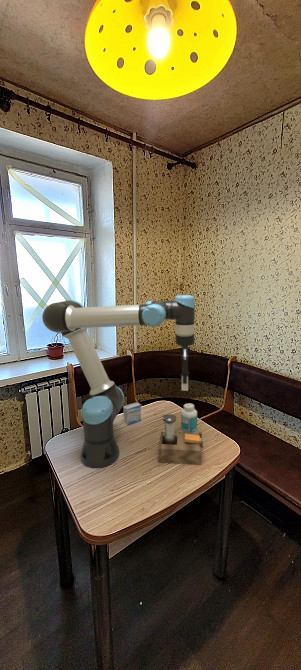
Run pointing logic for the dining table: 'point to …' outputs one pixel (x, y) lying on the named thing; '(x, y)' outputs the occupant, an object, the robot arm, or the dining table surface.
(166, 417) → the steel pin
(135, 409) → the medicine box
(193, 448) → the block
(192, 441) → the plate
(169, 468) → the dining table surface
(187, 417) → the pill bottle
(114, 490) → the dining table surface
